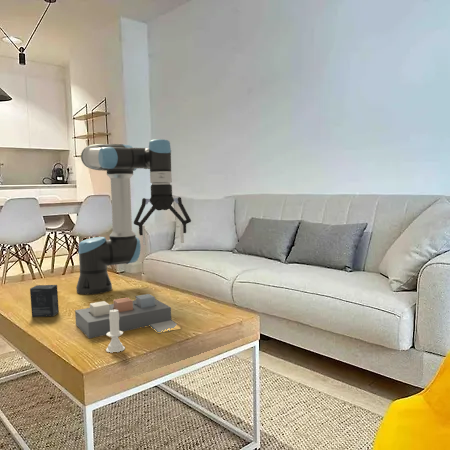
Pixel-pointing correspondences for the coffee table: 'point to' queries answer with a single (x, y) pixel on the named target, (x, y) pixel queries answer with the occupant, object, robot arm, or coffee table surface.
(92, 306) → the ivory key
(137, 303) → the slate key
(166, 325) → the smartphone
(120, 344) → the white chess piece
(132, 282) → the coffee table surface
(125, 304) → the terracotta key
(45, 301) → the box
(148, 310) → the key panel
